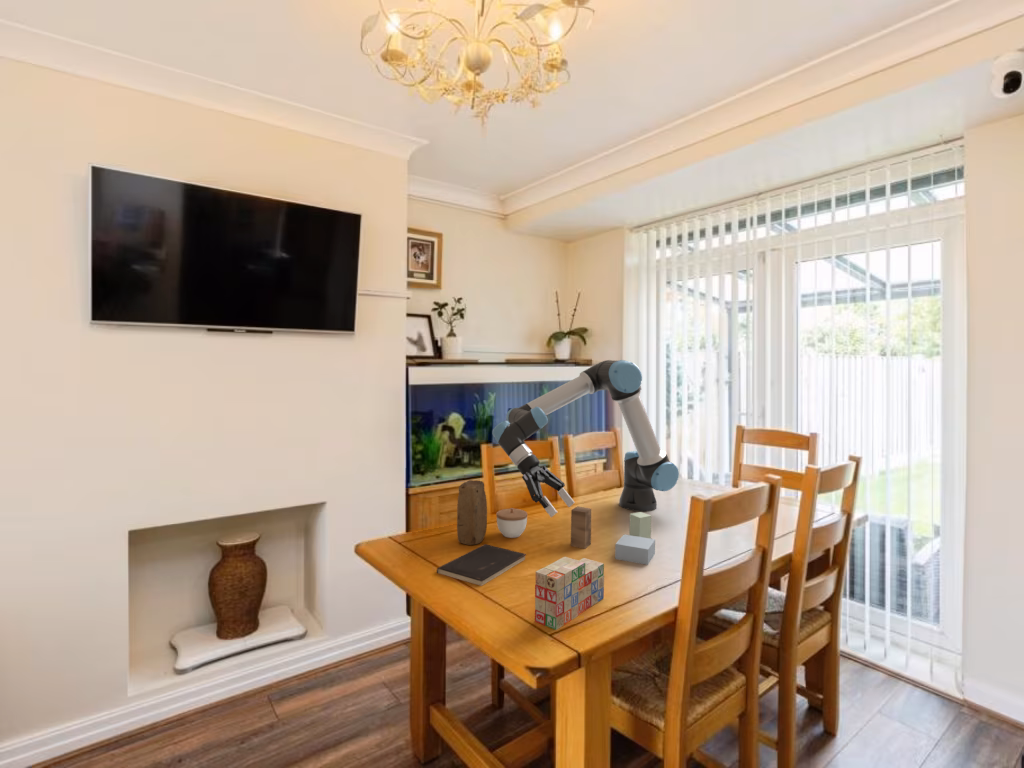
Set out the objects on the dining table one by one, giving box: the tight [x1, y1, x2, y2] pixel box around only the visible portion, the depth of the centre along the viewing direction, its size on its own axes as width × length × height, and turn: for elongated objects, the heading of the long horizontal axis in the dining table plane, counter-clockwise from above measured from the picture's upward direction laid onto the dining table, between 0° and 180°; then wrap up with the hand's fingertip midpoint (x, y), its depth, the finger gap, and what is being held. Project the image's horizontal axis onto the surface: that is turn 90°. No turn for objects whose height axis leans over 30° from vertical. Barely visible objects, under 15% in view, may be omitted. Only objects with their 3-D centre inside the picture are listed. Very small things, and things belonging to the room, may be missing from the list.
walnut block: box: [570, 506, 592, 550], centre depth 176 cm, size 5×5×12 cm
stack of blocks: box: [534, 556, 605, 631], centre depth 131 cm, size 21×6×12 cm, turn 140°
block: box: [456, 479, 488, 546], centre depth 179 cm, size 11×8×20 cm
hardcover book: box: [436, 544, 527, 587], centre depth 158 cm, size 16×23×2 cm
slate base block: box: [614, 533, 656, 566], centre depth 167 cm, size 10×10×5 cm
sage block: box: [628, 511, 652, 539], centre depth 180 cm, size 5×5×9 cm
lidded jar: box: [495, 507, 528, 539], centre depth 185 cm, size 11×11×9 cm
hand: (563, 509), depth 178 cm, fingers open, 13 cm apart
